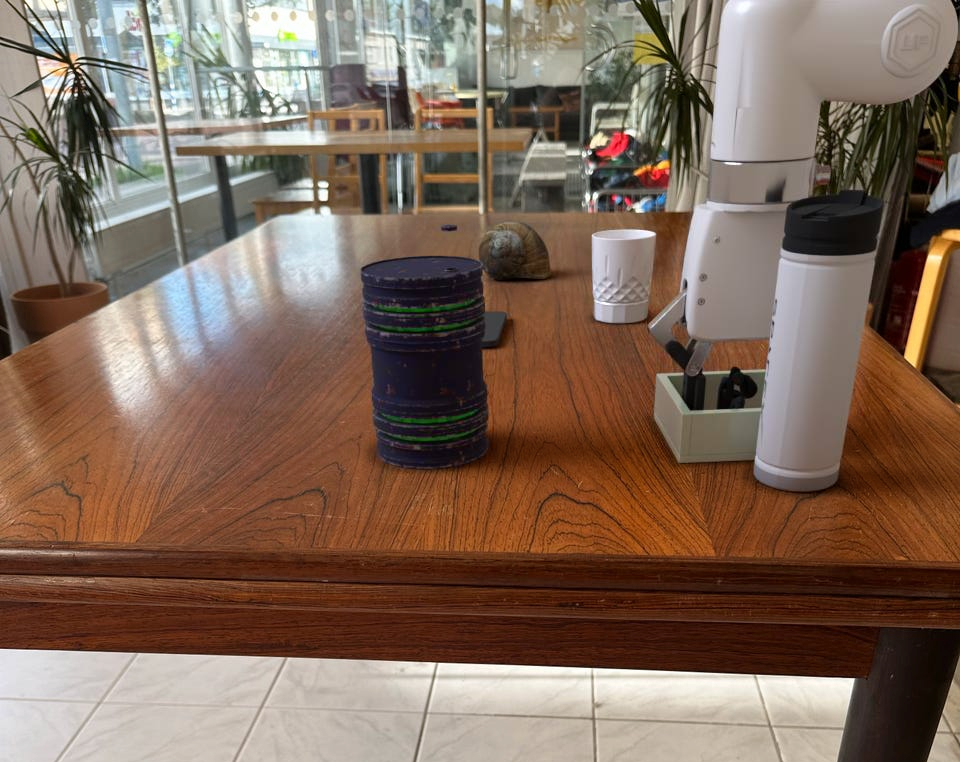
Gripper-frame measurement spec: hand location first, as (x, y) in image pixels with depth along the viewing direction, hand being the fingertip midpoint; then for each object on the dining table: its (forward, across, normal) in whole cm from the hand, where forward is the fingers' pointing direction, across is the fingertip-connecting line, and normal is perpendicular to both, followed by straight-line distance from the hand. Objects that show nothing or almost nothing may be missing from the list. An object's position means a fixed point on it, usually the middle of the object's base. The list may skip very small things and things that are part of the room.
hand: (734, 414), depth 81 cm
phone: (+2, +22, -41) cm, 47 cm away
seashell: (+2, +15, -76) cm, 78 cm away
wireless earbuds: (+1, 0, 0) cm, 1 cm away
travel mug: (+2, -2, +10) cm, 10 cm away
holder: (+2, 0, 0) cm, 2 cm away
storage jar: (+2, +26, 0) cm, 26 cm away
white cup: (+2, +3, -46) cm, 46 cm away
